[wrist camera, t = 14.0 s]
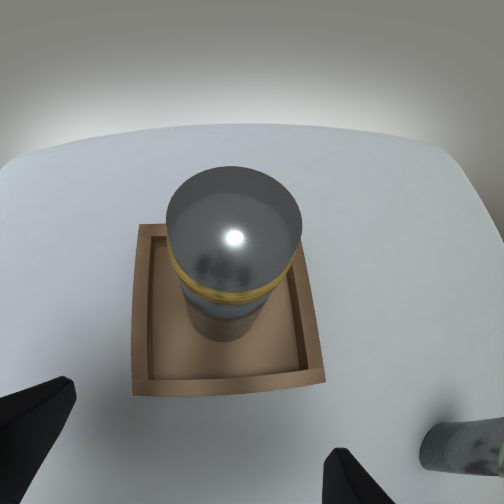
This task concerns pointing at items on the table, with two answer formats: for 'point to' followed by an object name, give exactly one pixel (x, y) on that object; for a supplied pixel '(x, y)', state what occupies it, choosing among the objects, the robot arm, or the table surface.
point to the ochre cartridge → (230, 246)
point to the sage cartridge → (465, 448)
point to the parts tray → (211, 352)
